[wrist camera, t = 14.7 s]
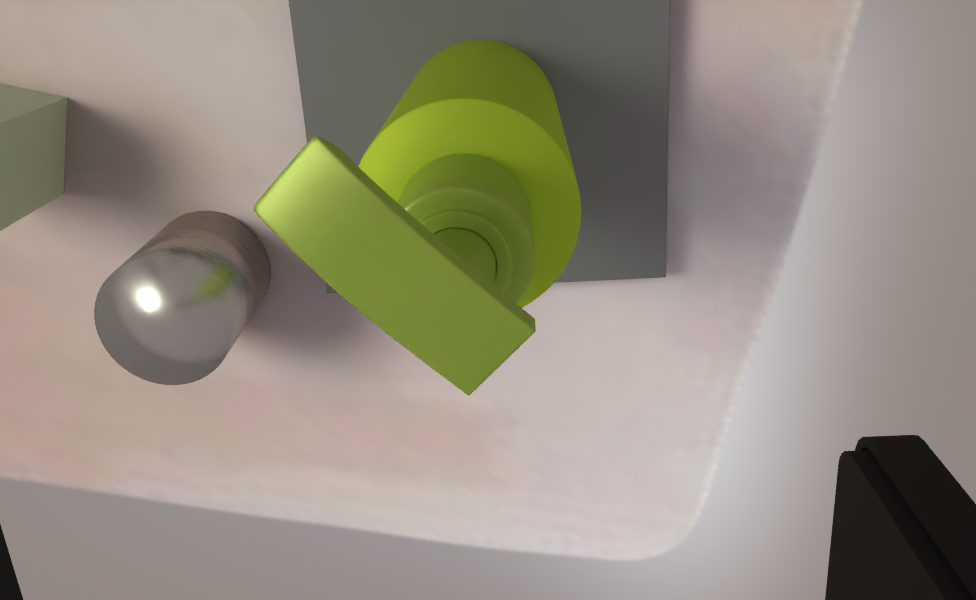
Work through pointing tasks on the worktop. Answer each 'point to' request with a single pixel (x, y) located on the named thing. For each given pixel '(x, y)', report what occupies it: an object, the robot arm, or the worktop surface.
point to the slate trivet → (570, 70)
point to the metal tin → (183, 298)
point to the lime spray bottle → (443, 210)
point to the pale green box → (30, 151)
